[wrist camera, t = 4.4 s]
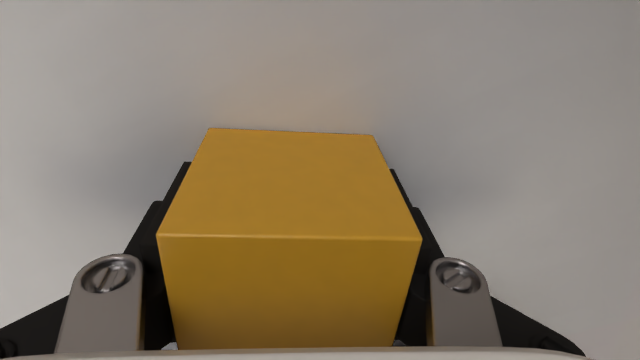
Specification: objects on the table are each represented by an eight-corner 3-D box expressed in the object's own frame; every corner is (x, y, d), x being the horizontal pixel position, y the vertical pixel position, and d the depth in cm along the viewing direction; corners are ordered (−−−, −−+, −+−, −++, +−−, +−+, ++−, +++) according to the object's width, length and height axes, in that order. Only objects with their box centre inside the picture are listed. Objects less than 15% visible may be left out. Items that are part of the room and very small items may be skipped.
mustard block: (208, 126, 11) (153, 234, 6) (373, 134, 11) (424, 238, 7) (219, 254, 13) (184, 392, 9) (353, 255, 14) (381, 387, 9)
